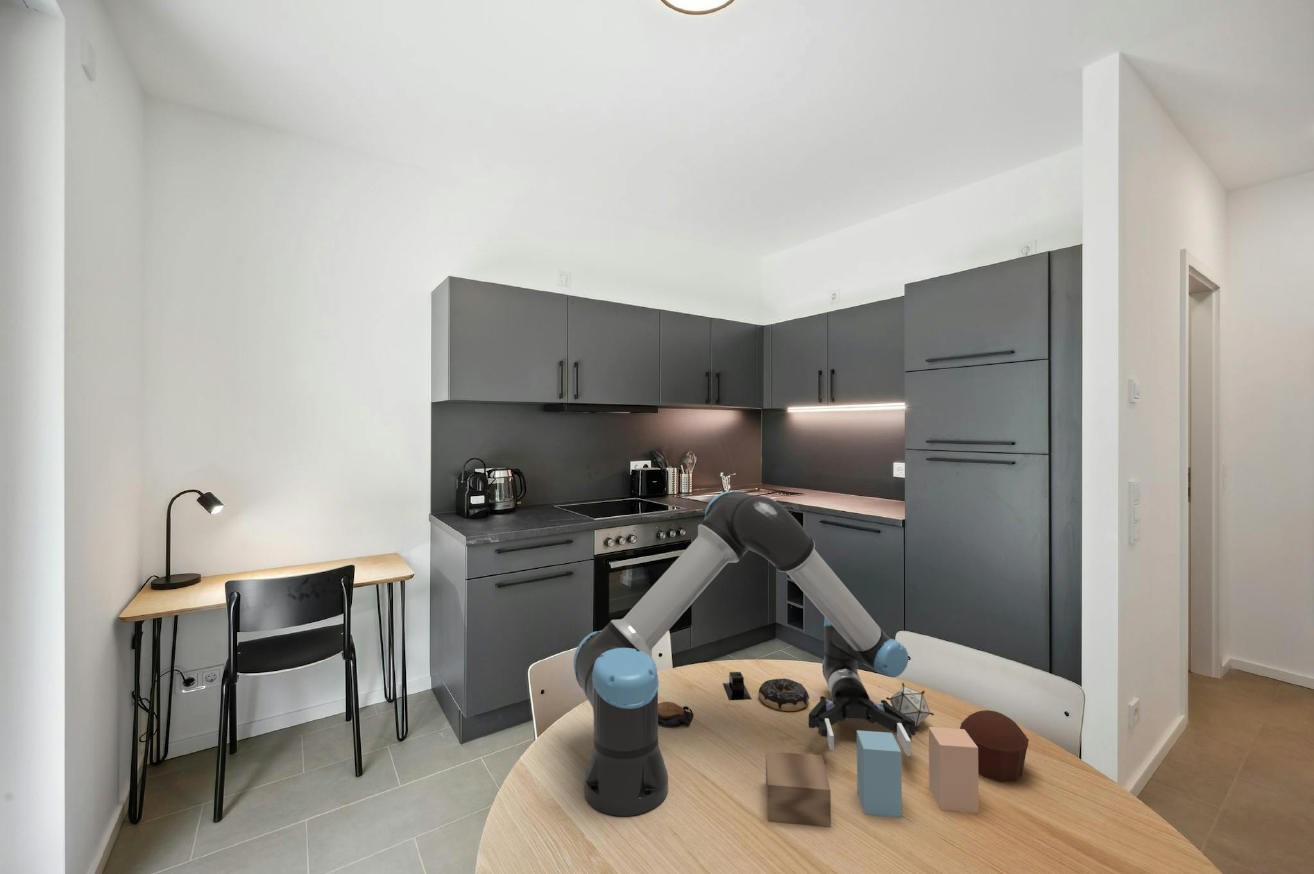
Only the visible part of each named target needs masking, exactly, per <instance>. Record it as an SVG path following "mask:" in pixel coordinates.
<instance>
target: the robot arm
mask: <svg viewBox="0 0 1314 874" xmlns="http://www.w3.org/2000/svg"><path fill="white" fill-rule="evenodd" d="M815 547H816V543H815V541H814V539H813V538H812V537H811V535H810V534H809V533H808V531H806V529H805V528H804V527H803V525H801V523H800V522H799V521H798V520H797V519H796V518H795V517H794V516H793V515H792V514H791V513H790V511H788V510H787V508H786V507H784V506H783V505H781V503H779V502H778V501H776V500H774V499H772V498H770V497H766V496H764V495H756V494H749V493H748V492H747V493H746V492H744V491H739V490H736V491H735V490H733V491H724V492H722V493H719V494H718V495H716V496H715V497H713V498H712V499H711V500H710V501H709V502H708V504H707V506H706V508H705V510H704V519H703V520H702V521H701V522H700V523H699V525H697V537H696V538H695V539H694V540H693V541H692V542H691V543H690V544H689V545H688V546H687V548H686V549H685V550H684V551H683V552H682V553H681V555H680V556H679V557H677V558H676V560H675V561H674V562H673V563H672V564H671V565H670V566H669V568H667V570H666V571H665V572H664V573H663V574H662V575H661V576H660V577H659V578H658V580H657V581H655V583H654V584H653V585H652V586H651V587H650V588H649V590H647V592H646V593H645V594H644V595H643V596H642V597H641V599H639V601H638V602H636V604H635V605H634V606H633V607H632V608H631V609H630V610H629V612H627V614H626V615H625V616H624V617H622V618H621V619H611V620H610V621H609V622H608V623H607V625H606V626H604V628H603V629H602V630H598V631H593V632H590V633H589V634H588V635H586V636H585V637H584V638H583V639H582V640H581V641H580V642H579V644H578V645H577V647H576V649H575V653H574V656H573V670H574V674H575V679H576V681H577V684H578V685H579V687H580V688H581V690H583V692H584V694H585V697H586V698H587V700H588V701H589V703H590V705H591V707H592V712H593V750H592V752H591V756H590V759H589V762H588V766H587V768H586V769H587V770H586V773H585V775H584V796H585V799H586V801H587V802H588V804H589V805H590V806H591V807H592V808H593V809H595V810H597V811H599V812H601V813H604V814H607V815H611V816H617V817H619V816H620V817H628V816H629V817H631V816H637V815H641V814H644V813H647V812H649V811H651V810H654V809H655V808H657V807H658V806H659V805H661V803H663V801H664V800H665V799H666V797H667V795H668V792H669V774H668V770H667V766H666V764H665V761H664V760H665V759H664V758H663V754H662V751H661V748H660V745H659V726H658V704H659V684H660V682H659V676H658V675H659V674H658V669H657V664H656V662H655V660H654V659H653V649H654V648H655V646H656V645H657V644H658V643H659V642H660V640H661V639H662V638H663V637H664V636H665V635H666V634H667V632H668V631H669V630H670V629H671V628H672V627H673V625H675V623H677V621H679V619H680V618H681V617H682V615H683V614H684V613H685V612H686V611H687V610H688V608H689V607H691V605H692V604H693V603H694V602H695V600H696V599H698V597H699V596H700V595H701V594H702V593H703V592H704V590H705V589H706V588H707V587H708V586H709V584H711V583H712V582H713V580H714V579H715V578H716V577H717V576H718V575H719V574H720V572H721V571H722V570H723V568H725V566H726V565H728V564H729V563H730V564H731V563H735V564H736V563H738V562H739V561H740V560H741V559H742V558H743V557H744V555H746V553H747V552H748V551H751V552H753V553H756V554H757V555H759V556H761V557H763V558H764V559H766V560H767V561H768V562H769V563H771V564H772V566H773V567H774V568H775V569H776V570H777V571H778V572H780V573H786V574H787V575H788V576H789V578H791V580H792V581H793V582H794V584H796V585H797V587H799V589H800V590H801V591H802V592H803V594H805V595H804V596H806V597H807V598H808V599H809V601H811V602H812V604H813V605H814V607H816V609H818V610H819V612H820V613H821V614H822V615H823V616H824V622H823V639H824V640H823V641H824V651H823V652H824V655H823V657H824V658H823V661H822V663H821V664H822V665H821V666H822V667H821V668H822V674H823V678H824V679H825V682H826V684H827V685H826V686H827V687H828V689H829V693H830V697H831V700H829V699H826V696H824V695H823V696H822V695H821V696H820V697H819V702H818V703H817V704H816V705H815V707H813V708H812V709H811V711H810V712H809V713H808V728H810V729H815V728H818V730H817V731H818V732H817V733H818V734H819V735H820V736H821V737H824V738H826V741H827V745H828V748H829V751H835V735H834V732H833V729H832V726H834V724H837V723H838V722H844V721H845V720H847V719H858V720H865V721H867V722H869V723H871V724H877V725H880V726H881V727H884V728H886V729H888V730H889V731H890V732H892V733H896V738H897V739H898V741H899V743H900V745H901V747H902V750H903V752H904V753H905V754H906V755H905V756H908V757H910V756H912V736H915V735H916V730H915V721H914V720H912V719H911V718H909V717H908V716H906V715H904V714H903V713H901V712H900V711H898V710H897V709H895V708H894V707H892V705H890V703H889V702H888V700H887V699H886V700H885V699H881V700H880V703H874V702H873V701H872V700H871V699H870V697H869V694H868V692H867V690H866V688H865V686H864V683H863V681H862V680H861V677H860V676H859V673H858V662H859V663H861V664H863V665H864V666H866V667H868V668H870V669H871V670H874V671H875V672H876V673H878V674H882V675H883V676H885V677H888V678H896V677H899V676H901V675H902V674H903V673H904V671H905V670H906V669H907V667H908V664H909V654H908V650H907V648H906V647H905V646H904V645H903V644H902V643H901V642H898V640H896V639H894V638H890V637H889V636H888V635H887V634H886V633H885V632H884V630H883V629H882V628H881V627H880V626H879V625H878V624H877V623H876V621H875V620H874V619H873V618H872V616H871V615H870V614H869V613H868V611H867V610H866V609H865V608H864V607H863V606H862V604H861V603H860V602H859V600H858V599H857V598H856V597H855V596H854V594H852V593H851V591H850V590H849V588H847V586H846V585H845V583H843V582H842V580H841V579H840V577H838V575H837V574H836V573H835V572H834V571H833V569H832V568H831V566H829V565H828V563H827V562H826V561H825V560H824V559H823V558H822V557H821V555H820V554H819V552H817V550H816V549H815Z"/></svg>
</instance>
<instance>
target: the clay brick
mask: <svg viewBox="0 0 1314 874" xmlns="http://www.w3.org/2000/svg"><path fill="white" fill-rule="evenodd" d="M928 778H929V779H928V782H929V783H928V784H929V785H928V786H929V787H928V788H929V790H930V793H931V794H932V796H933V798H934V799H935V800H934V801H935V802H936V804H937V805H938V807H939V809H940V811H941V810H942V811H951V812H962V813H975V814H979V813H980V811H979V806H980V803H979V801H980V799H979V794H980V793H979V773H978V747H977V746H976V744H975V743H974V742H973V740H972V739H971V738H970V736H969V735H968V734H967V732H966V731H965V729H960V728H951V727H950V728H949V727H934V726H928Z"/></svg>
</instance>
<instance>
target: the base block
mask: <svg viewBox="0 0 1314 874" xmlns="http://www.w3.org/2000/svg"><path fill="white" fill-rule="evenodd" d="M765 788H766V789H765V790H766V805H767V807H766V809H767V821H768V822H777V823H788V824H796V825H798V824H800V825H809V826H819V827H830V828H831V827H832V823H831V822H832V818H831V817H832V814H831V813H832V811H831V810H832V809H831V807H832V806H831V802H832V801H831V800H832V799H831V796H832V795H831V786H830V782H829V778H828V774H827V770H826V765H825V761H824V758H823V755H822V754H821V755H820V754H807V753H795V752H783V751H782V752H781V751H769V750H766V751H765Z"/></svg>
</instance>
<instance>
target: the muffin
mask: <svg viewBox="0 0 1314 874" xmlns="http://www.w3.org/2000/svg"><path fill="white" fill-rule="evenodd" d="M959 729H965V731H966V732H967V734H968V735H969V736H970V738H971V739H972V740H973V742H974V743H975V744H976V746H977V747H978V775H980V776H982V777H983V778H985V779H991V780H994V781H997V782H1000V783H1003V782H1004V783H1005V782H1009V783H1010V782H1013V783H1014V782H1017V780H1018V779H1020V778H1022V777H1023V772H1024V766H1025V761H1026V755H1027V750H1028V747H1029V738H1028V737H1027V736H1026V734H1025V733H1024V731H1023V730H1022V728H1021V727H1020V726H1019V725H1018V724H1017V722H1015V721H1014V720H1013V719H1012V718H1010V717H1008V716H1007V715H1005V714H1003V713H1001V712H999V711H995V710H989V709H986V710H984V709H983V710H978V711H975V712H974V713H971V714H969V715H968V716H967V717H966V718H965V719H964V720H963V721H961V723H960V726H959Z"/></svg>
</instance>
